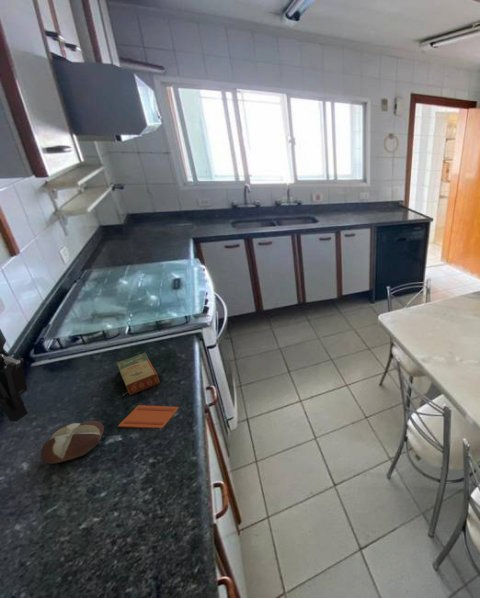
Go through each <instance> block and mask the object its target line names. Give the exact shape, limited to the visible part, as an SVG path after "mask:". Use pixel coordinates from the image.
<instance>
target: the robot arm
mask: <svg viewBox="0 0 480 598" xmlns="http://www.w3.org/2000/svg"><path fill="white" fill-rule="evenodd" d="M6 342H7V339H6V337H5V335H4V333H3V332H2V329H1V328H0V407H1V408H2V410H3V412H4V413H5V415H6V417H7V418H8V420H9V421H10V422H18V421H19V420H21V419H22V418H24V417H25V416H27V415H28V414H29V412H28V410H27V408H26V406H25V401H24V400H23V398H22V397H21V395H22V394H23V393H25V392H27V391H28V387H27V382H26V376H25V372H24V371H25V370H24V364H25V359H24V358H22V357H19V358H17V359H15V358H13V357H11V356H10V353H9V352H8V351H6V350H5V348H4V347H5V344H6Z"/></svg>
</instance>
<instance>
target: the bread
mask: <svg viewBox="0 0 480 598" xmlns="http://www.w3.org/2000/svg"><path fill="white" fill-rule="evenodd" d="M104 431H105V426H104V424H103V423H101V422H100V421H98V420H86V421H83V422H81V423H79V422H74V423H69V424H65V425H64V426H62V427H61V428H58V429H57V430H55V431H54V432H53V433H52V435H51V436H50V438H49V439H48V440H46V441H45V442H44V443H43V445H42V447H41V451H40V457H41V460H42V461H44V462H45V463H47V464H51V465H52V464H59V463H63V462H67V461H71V460H75V459H77V458H80V457H84V456H85V455H87V454H88V453H89V452H90V451H92V450H93V449H95V447H96V446H97V445H98V444H99V443H100V441H101V438H102V436H103V435H104Z"/></svg>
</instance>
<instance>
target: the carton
mask: <svg viewBox="0 0 480 598" xmlns="http://www.w3.org/2000/svg"><path fill="white" fill-rule="evenodd" d="M116 366H117V368H118V372H119V373H120V377H121V378H122V381H123V383H124V385H125V388H126V390H127V392H128V394H129V396H131V395H134V394H137V393H139V392H142V391H145V390H147V389H149V388H152V387H154V386H157V385H159V384H160V383H161V381H160V379H159V375H158V372H157V371H156V369H155V367H154V365H152V363H151V360H150V359H149V357H148V355H147V353H146V352H143V353H140V354H137V355H135V356H132V357H129V358H125V359H123V360H120V361H117V362H116Z"/></svg>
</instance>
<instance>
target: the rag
mask: <svg viewBox="0 0 480 598" xmlns="http://www.w3.org/2000/svg"><path fill="white" fill-rule="evenodd" d="M178 410H179V406H167V405H165V406H163V405H144V404H143V405H142V404H141V405H139V404H138V405H137V406H136V407H135V408H133V410H132V411H131V412H130V413H129V414H128V415H127V416H126V417H125V418H124V419H123V420H122V421H121V422H120V423H119V424H118V425H117V427H118V428H133V429H137V428H138V429H164V427H165V426H166V425H167V424H168V423H169V421H170V420H171V419H172V417H173V416H174V415H175V414H176V412H177V411H178Z"/></svg>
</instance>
